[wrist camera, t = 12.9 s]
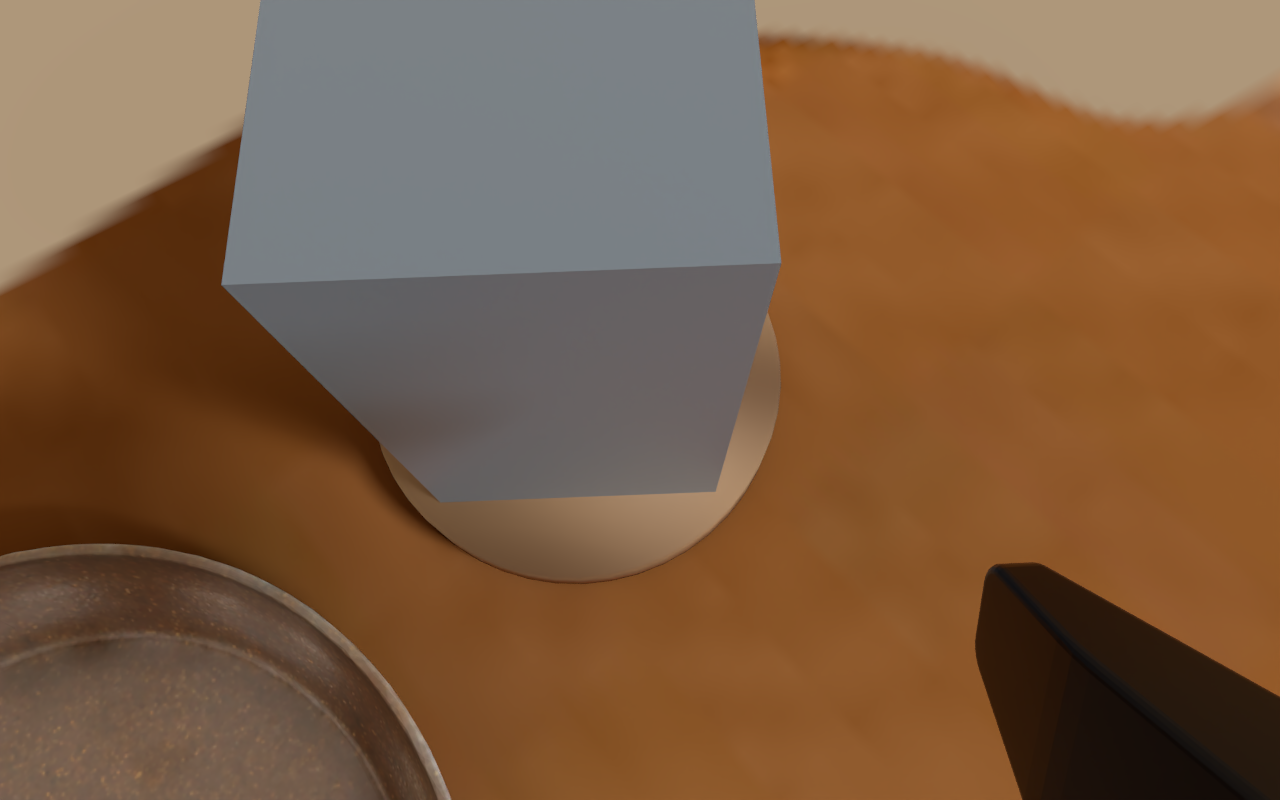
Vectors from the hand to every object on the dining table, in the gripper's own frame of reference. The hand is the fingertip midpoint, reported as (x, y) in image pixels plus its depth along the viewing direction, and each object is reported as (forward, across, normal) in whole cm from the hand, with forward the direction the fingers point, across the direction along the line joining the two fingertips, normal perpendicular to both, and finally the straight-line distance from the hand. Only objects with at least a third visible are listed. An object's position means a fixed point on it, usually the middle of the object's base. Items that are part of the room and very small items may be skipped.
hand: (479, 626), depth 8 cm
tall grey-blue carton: (+14, 0, +3) cm, 14 cm away
